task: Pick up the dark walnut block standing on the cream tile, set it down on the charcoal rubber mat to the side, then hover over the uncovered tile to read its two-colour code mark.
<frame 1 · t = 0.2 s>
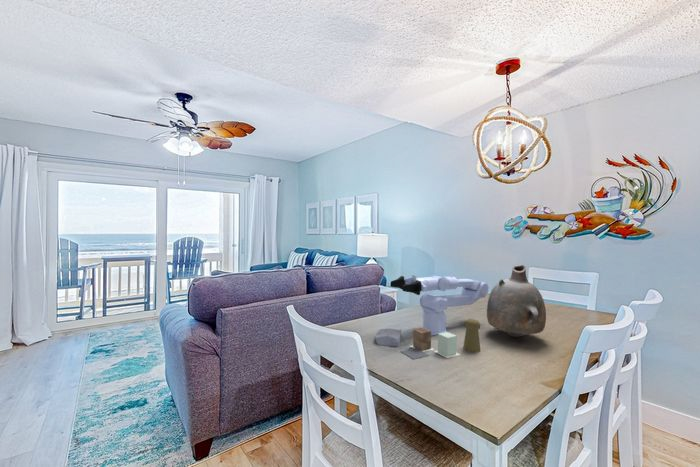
hand: (396, 286, 121), 21 cm above the table, tool horizontal, fingers open, 7 cm apart
charcoal mat: (414, 354, 108), on the table
sage block: (447, 352, 109), resting on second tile
walnut block: (421, 347, 113), resting on cream tile
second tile: (447, 353, 109), on the table
stone block: (388, 341, 120), on the table
cork: (471, 350, 113), on the table
cream tile: (421, 348, 113), on the table
jug: (514, 337, 126), on the table
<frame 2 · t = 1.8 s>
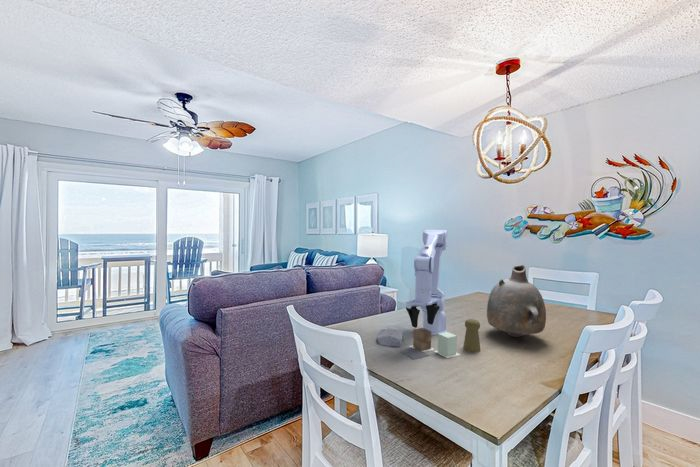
hand: (422, 325, 113), 9 cm above the table, tool pointing down, fingers open, 7 cm apart
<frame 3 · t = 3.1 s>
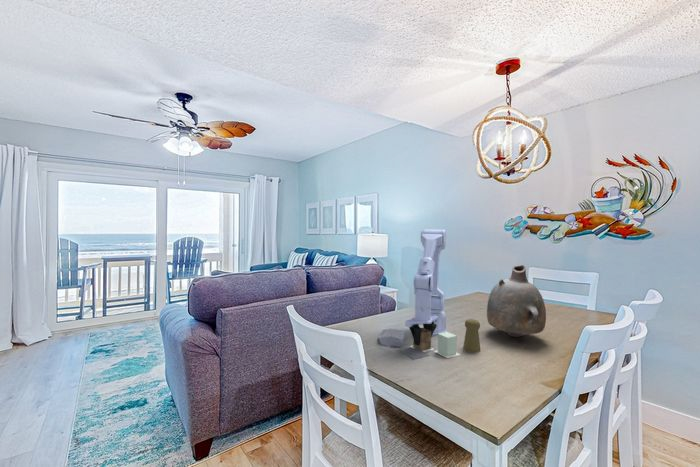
hand: (422, 343, 113), 2 cm above the table, tool pointing down, fingers closed on walnut block, 4 cm apart
walnut block: (421, 347, 113), resting on cream tile, touching gripper
when the fingers open (3 cm above the table, at t = 5.8 s): walnut block drops 1 cm, resting on charcoal mat.
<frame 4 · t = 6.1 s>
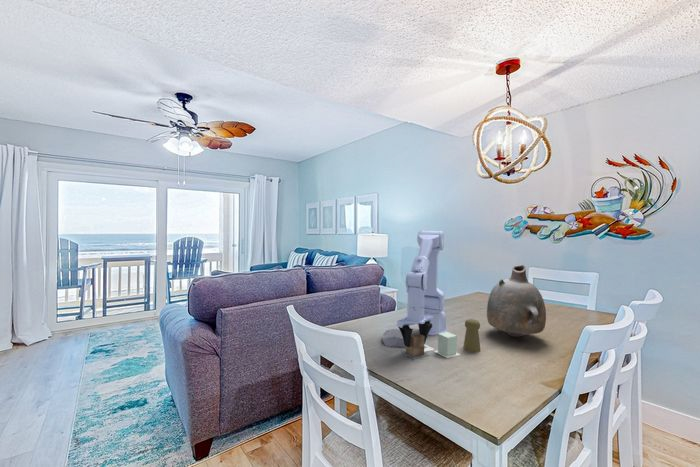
hand: (414, 344, 107), 4 cm above the table, tool pointing down, fingers open, 6 cm apart
walnut block: (414, 353, 107), resting on charcoal mat
stone block: (394, 342, 120), on the table
everything else where it was.
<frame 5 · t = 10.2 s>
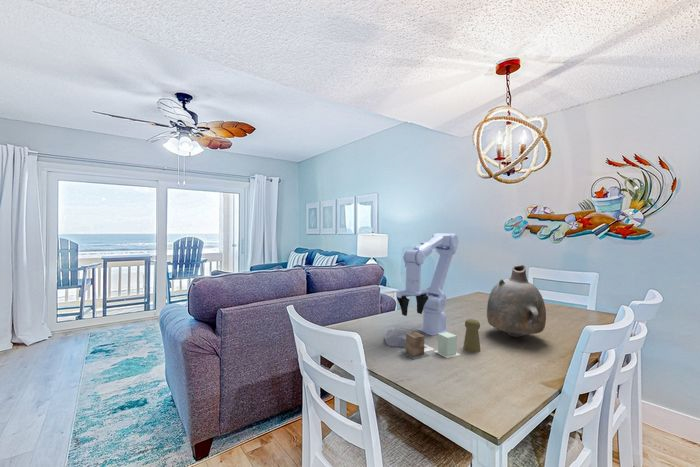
hand: (412, 314, 121), 10 cm above the table, tool pointing down, fingers open, 7 cm apart
at the end: walnut block inside the target area on the charcoal mat (0.1 cm from its centre), point 0.4 cm above the charcoal mat's base; walnut block tilted 0°; walnut block moved 6.8 cm from its start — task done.
